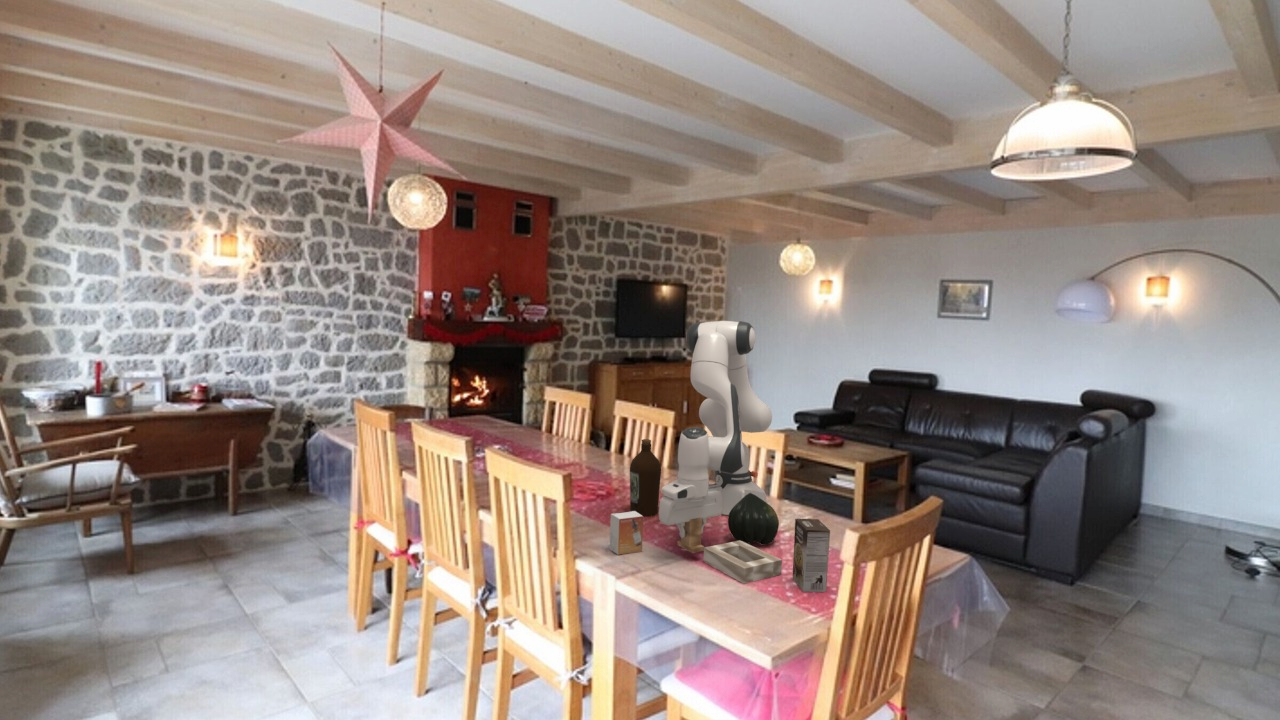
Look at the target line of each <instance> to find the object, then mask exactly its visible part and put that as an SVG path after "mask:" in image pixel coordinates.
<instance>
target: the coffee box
mask: <svg viewBox="0 0 1280 720" xmlns="http://www.w3.org/2000/svg"><path fill="white" fill-rule="evenodd" d="M794 520H795V521H794V541H793V560H792V563H793V564H792V566H793V567H792V579H793V580H794V582H795V583H796V585H797V586H798V587H799V589H801V591H802V592H803V593H826V592H827V585H828V584H827V583H828V568H829V555H830V552H829V551H830V538H831V530H830V528H829V527H827V526H826V525H825V524H824V523H823V522H822V521H821V520H820V519H819V518H813V519H812V518H795V519H794Z"/></svg>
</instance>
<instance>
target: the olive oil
mask: <svg viewBox="0 0 1280 720" xmlns="http://www.w3.org/2000/svg"><path fill="white" fill-rule="evenodd" d="M640 446H641V447H640V449H641V450H640V451H639V452H638V454H637V455H636V456H634V458H632V460H631V462H630V466H629V490H630V491H629V492H630V493H629V496H630V497H629V499H630V503H629V505H630V506H629V512H632V511H636V512H637V513H639V514H641V515H642V516H643V518H645V517H646V518H647V517H654V516H656V515H657V514H659V504H660V500H659V499H660V488H661V487H660V486H661V478H662V477H661V476H662V465H661V462H660V460H659V459H658V458H657V456H656V455H655V454H654V453H653V452H652V440H651V439H648V438H647V439H646V438H644V439H641V445H640Z"/></svg>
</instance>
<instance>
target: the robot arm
mask: <svg viewBox="0 0 1280 720" xmlns="http://www.w3.org/2000/svg"><path fill="white" fill-rule="evenodd" d="M685 337H686V339H685V340H686V347H687V349H688V351H690V352H691V354H692V359H691V366H690V383H691V385H692V387H693V388H694V389H695V391H696V392H697V393H699V394H700V395H701V396H703V397H706V399H704V400H703V401H702V403H701V404H700V406H699V410H698V417H699V419H700V420H699V421H701V423H702V424H703V425H704V426H705V427H706V429H708V431H709V432H710V433H711V435H712V436H709V433H708V431H707V430H706V429H704V428H700V427H689V428H686V429H683V430H682V431H681V433H680V437H679V442H678V445H677V458H676V459H677V464H678V471H677V474H676V475H677V476H676V479H674V480H673V481H671V482H669V483H668V484H666V485H664V486H662V487H661V491H660V492H661V495H663V496H662V497H661V498H660V500H659V505H658V520H659V521H660V523H661V524H663V525H664V526H667V527H668V526H673V525H676V527H677V528H678V530H679V537H680V538H681V537H682V538H684V537H687V531H686V530H684V528H683V526H685V522H689V521H690V519H696V518H702V527H701V535H702V534H703V533H704V531H703V530H704V527H705V525H706V524H707V521H708V520H707V519H709V518H714V517H720V516H721V515H725V516H729V513H730V511H731V509H732V508H733V507H734V506H735V505H736V504H737V503H738V502H739V501H740V500H741V499H742V498H743V497H744V496H746V495H747V494H749V493H752V494H754V495H756V496H757V497H759V498H760V499H762V500H763V501H765V502H766V503H767V504H769V505H770V506H771V507H772V508H773V509H774V507H773V505H772V504H770V503H769V502H767V495H766V492H765V491H764V490H763V488H761V487H760V485H758V484H757V483H755V482H754V481H753V478H758V475H759V473H758V472H757V471H754V470H752V471H751V470H749V469H750V448H749V447H748V446H747V445H746V443H745V442H744V441H743V436H742V433H764V432H765V431H767V430H768V429H769V428H770V426H771V424H772V420H773V413H772V410H771V408H770V406H769V405H768V404H767V403H765V402H764V401H762V400H761V399H760V398H759V397H758V396H757V394H756V392H755V391H754V389H753V388H752V386H751V383H750V380H749V373H748V364H747V363H748V362H747V354H750V353H751V352H752V351H753V349H754V347H755V345H756V344H755V343H756V333H755V329H754V327H753V326H752V325H751V323H750V322H747V321H743V320H742V321H740V320H739V321H732V320H717V321H715V320H714V321H707V322H706V321H705V322H702V321H698V322H694V323H692V324H691V325H690V326H689V327H688V329H687V330H686V335H685ZM709 471H715V472H714V483H710V474H709ZM752 477H753V478H752Z"/></svg>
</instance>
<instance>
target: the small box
mask: <svg viewBox="0 0 1280 720" xmlns="http://www.w3.org/2000/svg"><path fill="white" fill-rule="evenodd" d="M609 523H610V526H609V527H610V528H609V531H610V532H609V550H610V551H612V552H613V553H614V554H616V555H618V556H619V555H625V554H633V553H641V552H642V551H643V535H644V517H643V516H642V515H641V514H639V513H637V512H636V511H632V512H630V511H626V512H615V513H610V522H609Z"/></svg>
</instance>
